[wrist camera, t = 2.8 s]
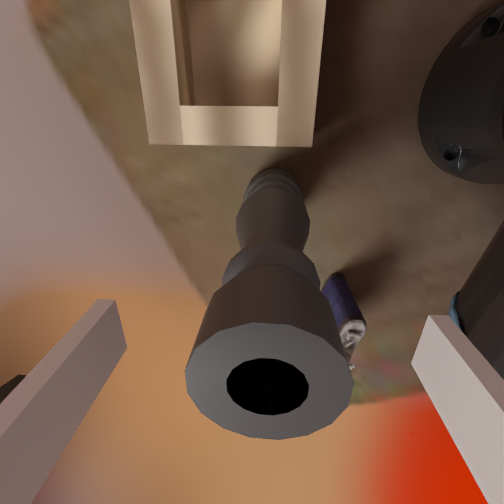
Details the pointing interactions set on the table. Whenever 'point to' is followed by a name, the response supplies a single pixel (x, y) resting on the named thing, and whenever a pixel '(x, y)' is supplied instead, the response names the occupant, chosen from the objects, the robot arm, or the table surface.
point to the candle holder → (270, 327)
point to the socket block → (229, 70)
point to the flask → (345, 313)
